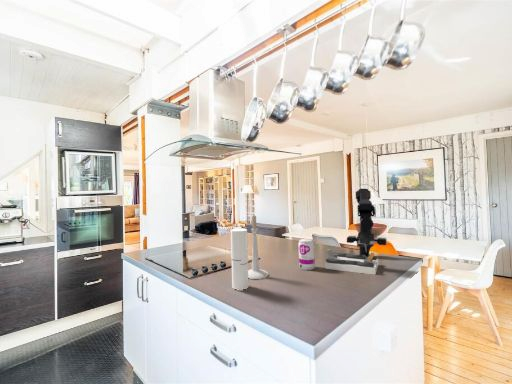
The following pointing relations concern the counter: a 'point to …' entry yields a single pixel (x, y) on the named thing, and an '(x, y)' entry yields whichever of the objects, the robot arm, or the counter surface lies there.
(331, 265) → the white tray
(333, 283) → the counter surface
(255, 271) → the candlestick
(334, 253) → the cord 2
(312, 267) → the supplement can
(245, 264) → the cylindrical container
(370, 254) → the orange brick
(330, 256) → the paddle grey
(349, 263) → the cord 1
